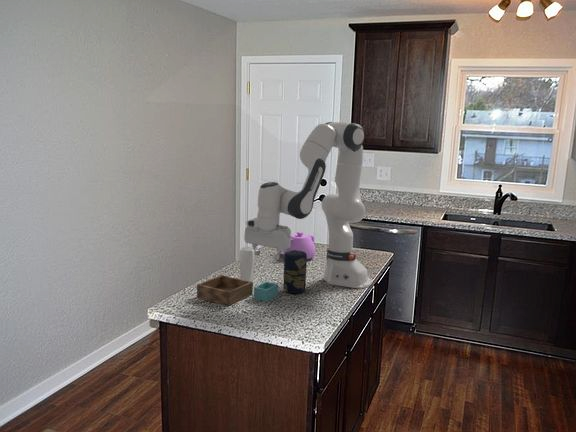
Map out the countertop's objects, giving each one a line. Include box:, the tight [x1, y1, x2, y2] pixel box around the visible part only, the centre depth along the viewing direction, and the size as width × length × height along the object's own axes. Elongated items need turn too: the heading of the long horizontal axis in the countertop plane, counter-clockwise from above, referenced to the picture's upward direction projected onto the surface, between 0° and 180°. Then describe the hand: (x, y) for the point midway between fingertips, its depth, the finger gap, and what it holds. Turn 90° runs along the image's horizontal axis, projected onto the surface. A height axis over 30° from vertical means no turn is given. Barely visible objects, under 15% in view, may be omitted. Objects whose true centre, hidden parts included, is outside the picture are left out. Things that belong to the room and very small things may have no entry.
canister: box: [282, 250, 308, 294], centre depth 211 cm, size 10×10×18 cm
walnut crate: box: [196, 274, 254, 307], centre depth 203 cm, size 16×16×6 cm
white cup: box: [238, 246, 255, 282], centre depth 222 cm, size 7×7×15 cm
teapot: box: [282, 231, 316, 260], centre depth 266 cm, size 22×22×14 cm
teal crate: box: [253, 281, 279, 303], centre depth 204 cm, size 6×9×5 cm, turn 151°
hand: (266, 256), depth 201 cm, fingers open, 8 cm apart
